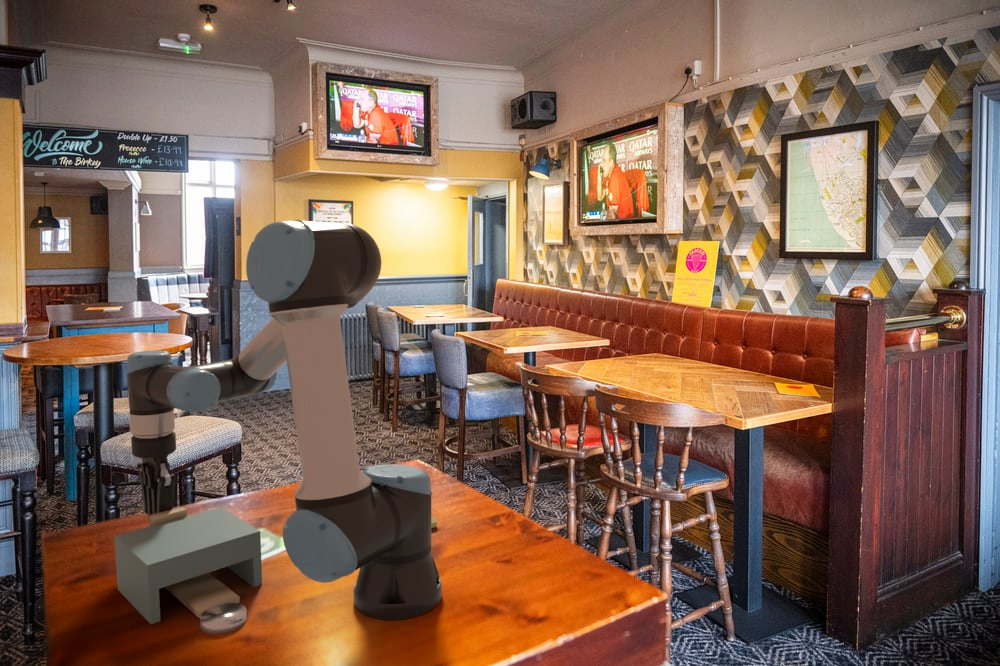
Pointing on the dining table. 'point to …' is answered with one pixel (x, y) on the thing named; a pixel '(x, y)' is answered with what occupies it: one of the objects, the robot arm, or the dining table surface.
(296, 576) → the dining table surface
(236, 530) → the bridge
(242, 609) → the token
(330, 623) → the dining table surface
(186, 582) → the paddle
